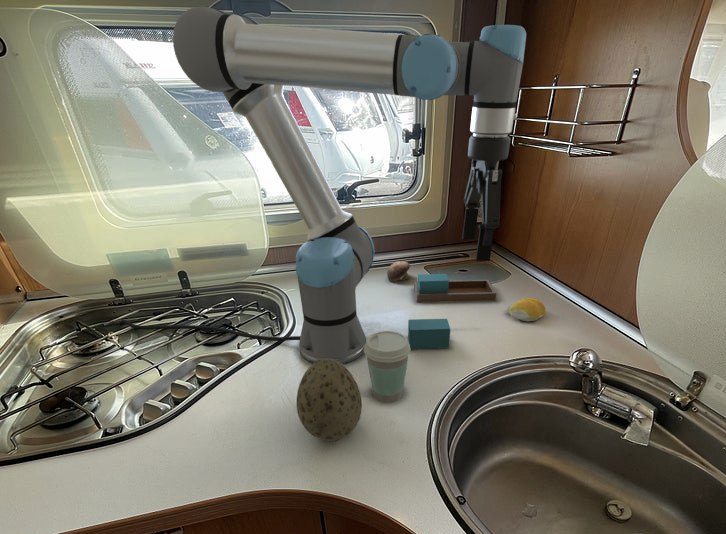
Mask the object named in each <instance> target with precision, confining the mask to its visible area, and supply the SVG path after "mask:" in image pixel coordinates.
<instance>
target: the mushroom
mask: <svg viewBox="0 0 726 534" xmlns="http://www.w3.org/2000/svg"><path fill="white" fill-rule="evenodd" d="M410 268H411V265H410V263H408V262H407V261H400V260H398V261H396V262H392V264H390V266H389V267H388V269H387V272H386V275H387V279H388V281H389V282H391V283H394V282H397V281H405V280H406V279H409V278H410V277H411V274H409V273H408V271H409V269H410Z"/></svg>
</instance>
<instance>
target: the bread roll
mask: <svg viewBox="0 0 726 534" xmlns="http://www.w3.org/2000/svg"><path fill="white" fill-rule="evenodd" d="M508 312H509V314H510V316H511V317H513V318H515V319H518V320H519V321H522V322H535V321H538V320H539V319H540V318H542V317H543V316H545V314H546V312H547V309H546V306H545V304H544V303H543V302H542V301H541V300H539V299H537V298H534V297H526V298H521V299H519V300H517V301H515V302H514V303H512V304H511V305H510V307H509V309H508Z"/></svg>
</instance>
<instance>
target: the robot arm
mask: <svg viewBox="0 0 726 534" xmlns="http://www.w3.org/2000/svg"><path fill="white" fill-rule="evenodd" d="M525 29H526V28H524V27H523V26H522V25H517V24H498V25H494V24H493V25H487V26H484V27H483V28H482V29H481V32H480V36H479V40H474V41H448V40H447V39H446V38H444V37H443V36H441V34H440V35H439V34H433V33H425V34H423V35H419V34H418V35H417V34H400V33H388V32H375V31H374V32H373V31H357V30H346V29H345V30H344V29H329V28H318V27H317V28H316V27H315V28H314V27H302V26H300V27H299V26H287V25H286V26H285V25H271V24H260V23H259V22H258V21H257V20H254V19H253V18H251V17H250V16H248V15H245V14H242V13H240V12H228V11H224V10H220V9H216V8H212V7H208V6H194V7H191V8H188V9H187V10H184V11H183V12H182V14H180V16H179V17H178V18H177V20H176V22H175V24H174V27H173V32H172V33H173V34H172V44H173V50H174V55H175V58H176V60H177V63H178V65H179V66H180V69H181V70H182V72H183V73H184V74H185V75H186V77H187V78H188V79H189V80H190V81H191V82H192V83H194V85H196V86H198V87H199V88H201V89H203V90H206V91H208V92H213V93H222V94H223V96H224V98H225V99H226V101H227V102H228V105H229V106H230V108H231V110H232V112H233V113H234V114H237V115H239V116H242V117H244V118H245V119H246V121H247V122H248V124H249V126H250V128H251V130H252V131H253V133H254V135H255V136H256V139H257V140H258V142H259V143H260V145H261V148H262V149H263V150H264V152H265V154H266V156H267V158H268V159H269V161H270V163H271V165H272V167H273V168H274V170H275V172H276V173H277V176H278V177H279V179H280V181H281V182H282V184H283V187H284V188H285V189H286V192H287V193H288V195H289V196H290V199H291V200H292V202H293V204H294V205H295V207H296V209H297V211H298V212H299V215H300V216H301V218H302V219H303V222H304V223H305V225H306V226H307V229H308V234H307V237H306V240H307V241H306V242H305V243H303V244H302V245H301V246H300V247H299V248H298V249H297V252H296V254H295V273H296V276H297V283H298V290H299V297H300V301H301V302H300V303H301V309H302V317H303V322H302V327H301V332H300V335H291V336H290V335H287V336H266V335H258V334H252V333H248V332H247V333H246V332H242V331H237V330H233V329H229V328H225V327H217V326H211V325H210V326H209V325H195V324H160V325H155V324H154V325H140V324H134V323H132V322H130V321H128V320H127V319H121V320H119V321H118V324H117V325H118V326H122V325H127V326H128V327H130V328H133V329H135V330H201V331H202V330H204V331H213V332H220V333H226V334H230V335H234V336H238V337H241V338H248V339H254V340H260V341H268V342H287V341H299V342H298V347H299V353H300V355H301V356H302V357H303V358H304V360H306V361H308V362H310V363H312V364H314V363H315V362H316V361H318V360H321V359H325V358H329V359H333V360H336V361H338V362H339V363H341V364H342V365H344V364H347V363H350V362H352V361H355V360H356V359H358V358H360V357H361V356H362V355H364V354H365V353H364V346H365V344H366V341H367V337H366V334H365V331H364V329H363V326H362V324H361V323H360V320H359V317H358V314H357V313H358V312H357V297H356V295H357V294H356V288H357V287H358V285H359V284H360V283H361V281H362V280H363V278H364V277H365V275H366V274H367V273H368V272H369V271H370V269H371V268H372V264H373V261H374V258H375V244H374V241H373V239H372V236H371V235H370V233H369V232H368V231H367V230H366V229H365V228H363V227H361V226H360V225H358V223H357V221H356V220H355V217H354V215H353V214H352V213H350V212H347V211H345V210H343V209H342V207H341V205H340V203H339V201H338V199H337V198H336V195H335V194H334V191H333V189H332V188H331V186H330V184H329V182H328V180H327V178H326V176H325V174H324V172H323V170H322V168H321V167H320V165H319V162H318V161H317V159H316V157H315V155H314V153H313V151H312V149H311V147H310V145H309V144H308V141H307V139H306V137H305V136H304V133H303V131H302V130H301V128H300V126H299V123H298V122H297V120H296V118H295V116H294V114H293V112H292V111H291V108H290V106H289V105H288V103H287V101H286V99H285V97H284V89H285V87H297V88H298V87H299V88H308V89H318V90H319V89H322V90H331V91H343V92H355V93H367V94H380V95H391V96H392V95H393V96H400V97H410V98H417V99H419V100H422V101H434V100H437V99H439V98H441V97H442V96H465V97H467V96H473V103H472V107H471V108H472V109H471V110H472V111H471V118H470V119H471V120H470V126H469V127H470V128H469V131H470V133H472V135H470V137H469V140H468V148H467V158H468V159H470V160H471V167H470V172H469V176H468V179H467V184H466V189H465V193H464V198H463V203H464V206H465V212H464V218H463V228H462V236H461V239H462V241H463V240H464V241H465V240H466V241H467V240H471V241H472V240H475V239H476V232H477V227H478V229H479V232H478V239H477V246H476V253H475V261H476V262H490V261H491V254H492V249H493V242H494V237H495V236H494V235H495V230H496V229H497V228H498V229H499V228H500V225H501V223H500V221H501V192H502V191H501V190H502V189H501V188H502V178H503V170H502V169H498V163H499V162H501V161H505V160H507V159H508V158H509V152H510V146H511V137H510V136H508V135H511V133H512V132H513V124H514V121H516V119H517V117H518V114H517V113H516V107H517V102H518V101H517V100H518V97H519V96H518V95H519V90H520V83H521V79H522V72H523V66H524V60H525V59H524V58H525V49H526V42H527V32H526V30H525ZM479 209H481V211H480V212H481V223H479V224H478V216H479ZM477 225H478V226H477Z"/></svg>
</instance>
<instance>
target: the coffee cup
mask: <svg viewBox="0 0 726 534" xmlns="http://www.w3.org/2000/svg"><path fill="white" fill-rule="evenodd" d="M411 350H412V349H410V344H409V341H408V337H406V336H405V335H404V334H403V333H401V332H398V331H393V330H381V331H376V332H374V333H372V334H370V335H369V336H368V337H367V338H366V344H365V346H364V353H363V354H364V355H365V357H366V363H367V367H368V374H369V378H370V385H371V391H372V395H373V398H374V399H375V400H377V401H379V402H382V403H395V402H397V401H399V400H401V398H402V397H403V394H404V387H405V380H406V374H407V368H408V362H409V355H410V354H411Z"/></svg>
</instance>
